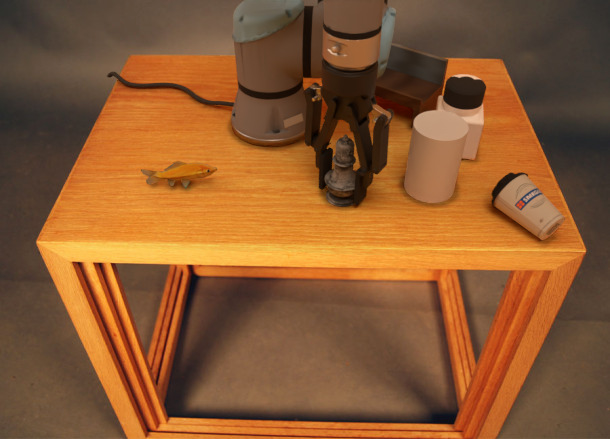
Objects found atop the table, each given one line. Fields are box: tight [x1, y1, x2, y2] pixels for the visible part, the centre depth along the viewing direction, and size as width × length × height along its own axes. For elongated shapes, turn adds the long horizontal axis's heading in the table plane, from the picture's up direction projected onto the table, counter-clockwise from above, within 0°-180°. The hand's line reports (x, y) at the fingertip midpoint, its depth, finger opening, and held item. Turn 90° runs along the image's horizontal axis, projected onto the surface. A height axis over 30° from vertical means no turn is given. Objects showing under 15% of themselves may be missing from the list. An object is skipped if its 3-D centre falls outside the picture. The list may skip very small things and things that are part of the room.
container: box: [436, 73, 487, 161], centre depth 97 cm, size 8×8×13 cm
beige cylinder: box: [403, 110, 469, 204], centre depth 89 cm, size 8×8×12 cm
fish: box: [140, 160, 218, 189], centre depth 91 cm, size 12×2×5 cm, turn 88°
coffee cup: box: [491, 171, 566, 241], centre depth 85 cm, size 7×7×10 cm
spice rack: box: [374, 42, 449, 129], centre depth 107 cm, size 14×10×10 cm
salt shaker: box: [324, 133, 357, 208], centre depth 87 cm, size 6×6×12 cm
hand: (342, 192), depth 90 cm, fingers closed on salt shaker, 6 cm apart
